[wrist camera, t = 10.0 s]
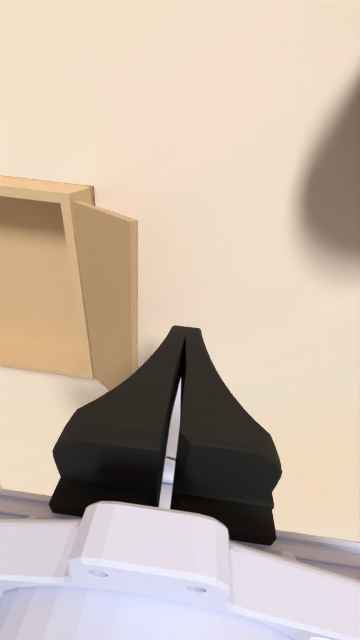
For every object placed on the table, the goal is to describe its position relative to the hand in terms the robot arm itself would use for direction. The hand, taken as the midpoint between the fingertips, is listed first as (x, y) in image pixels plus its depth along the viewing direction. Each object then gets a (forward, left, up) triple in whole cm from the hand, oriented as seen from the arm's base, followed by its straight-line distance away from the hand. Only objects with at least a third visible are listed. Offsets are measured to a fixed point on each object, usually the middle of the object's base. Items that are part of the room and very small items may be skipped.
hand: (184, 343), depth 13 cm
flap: (-3, +6, -5) cm, 8 cm away
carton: (-3, +15, -10) cm, 18 cm away
